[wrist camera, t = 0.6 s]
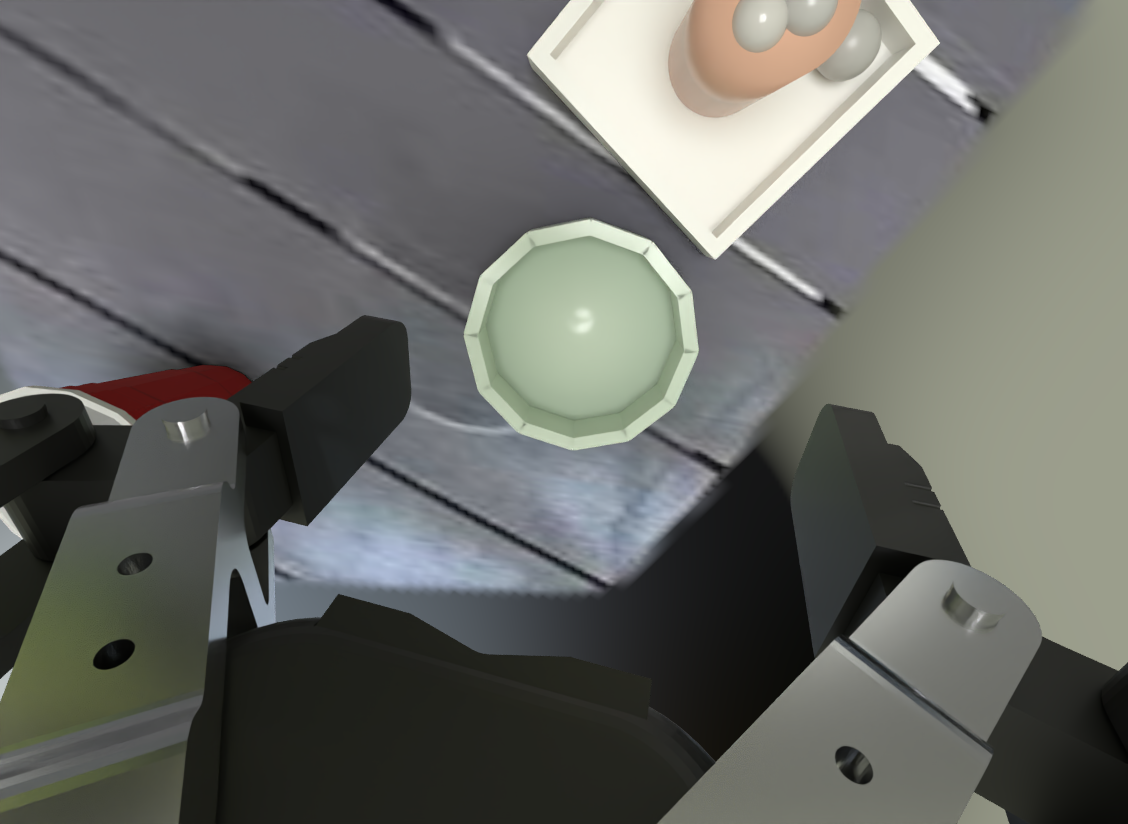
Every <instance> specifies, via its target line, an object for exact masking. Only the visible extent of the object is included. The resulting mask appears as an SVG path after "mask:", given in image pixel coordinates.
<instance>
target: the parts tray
mask: <svg viewBox="0 0 1128 824" xmlns="http://www.w3.org/2000/svg"><path fill="white" fill-rule="evenodd" d="M692 2H693V0H570V2H569V3H568V4H567V5H566V7H565V8H564V9H563V10H562V12H561V13H560V14H559V15H558V17H557V18H556V19H555V20H554V22H553V23H552V24H551V25H550V27H549V28H548V29H547V30H546V31H545V33H544V34H543V35H542V36H541V38H540V39H539V40H538V41H537V43H536V44H535V45H534V46H533V48H532V49H531V50H530V51H529V53H528V54H527V57H528V59H529V62H530V65H531V67H532V69H533V70H534V71H535V72H536V73H537V74H538V75H539V76H540V78H541V79H542V80H543V81H544V82H545V83H546V84H547V85H548V86H549V87H550V88H551V89H552V91H553V92H554V93H555V94H556V95H557V96H558V97H559V98H560V99H561V100H562V101H563V103H564V104H565V105H566V106H567V107H568V108H569V109H570V110H571V111H572V112H573V113H574V114H575V116H576V117H577V118H578V119H579V120H580V121H581V122H582V123H583V124H584V125H585V126H586V127H587V129H588V130H589V131H590V132H591V133H592V134H593V135H594V136H595V137H596V138H597V139H598V140H599V142H600V143H601V144H602V145H603V146H604V147H605V148H606V149H607V150H608V151H609V152H610V153H611V155H612V156H613V157H614V158H615V159H616V160H617V161H618V162H619V163H620V164H621V165H622V166H623V168H624V169H625V170H626V171H627V172H628V173H629V174H630V175H631V176H632V177H633V178H634V180H635V181H636V182H637V183H638V184H639V185H640V186H641V187H642V188H643V189H644V190H645V191H646V193H647V194H648V195H649V196H650V197H651V198H652V199H653V200H654V201H655V202H656V203H657V204H658V206H659V207H660V208H661V209H662V210H663V211H664V212H665V213H666V214H667V215H668V216H669V217H670V219H671V220H672V221H673V222H674V223H675V224H676V225H677V226H678V227H679V228H680V229H681V230H682V232H683V233H684V234H685V235H686V236H687V237H688V238H689V239H690V240H691V241H692V242H693V244H694V245H695V246H696V247H697V248H698V249H699V250H700V251H701V252H702V253H703V254H704V255H705V256H708V257H710V258H712V259H714V260H716V259H717V258H718V257H719V256H720V255H721V254H722V253H723V252H724V251H725V250H726V249H727V248H728V247H729V246H730V245H731V244H732V243H733V242H734V241H735V240H736V239H737V238H738V237H739V236H741V235H742V234H743V233H744V232H745V231H746V230H747V229H748V228H749V227H750V226H751V225H752V224H753V223H754V222H755V221H756V220H757V219H758V218H759V217H760V216H761V215H762V214H763V213H764V212H765V211H766V210H767V209H768V208H770V207H771V206H772V205H773V204H774V203H775V202H776V201H777V200H778V199H779V198H780V197H781V196H782V195H783V194H784V193H785V192H786V191H787V190H788V189H789V188H790V187H791V186H792V185H793V184H794V183H795V182H796V181H798V180H799V179H800V178H801V177H802V176H803V175H804V174H805V173H806V172H807V171H808V170H809V169H810V168H811V167H812V166H813V165H814V164H815V163H816V162H817V161H818V160H819V159H820V158H821V157H822V156H823V155H824V154H826V153H827V152H828V151H829V150H830V149H831V148H832V147H833V146H834V145H835V144H836V143H837V142H838V141H839V140H840V139H841V138H842V137H843V136H844V135H845V134H846V133H847V132H848V131H849V130H850V129H851V128H852V127H853V126H855V125H856V124H857V123H858V122H859V121H860V120H861V119H862V118H863V117H864V116H865V115H866V114H867V113H868V112H869V111H870V110H871V109H872V108H873V107H874V106H875V105H876V104H877V103H878V102H879V101H880V100H881V99H883V98H884V97H885V96H886V95H887V94H888V93H889V92H890V91H891V90H892V89H893V88H894V87H895V86H896V85H897V84H898V83H899V82H900V81H901V80H902V79H903V78H904V77H905V76H906V75H907V74H908V73H909V72H911V71H912V70H913V69H914V68H915V67H916V66H917V65H918V64H919V63H920V62H921V61H922V60H923V59H924V58H925V57H926V56H927V55H928V54H929V53H930V52H931V51H932V50H933V49H934V48H935V47H936V46H937V45H938V44H940V42H939V41H938V40H937V38H936V37H935V35H934V34H933V33H932V31H931V30H930V28H929V27H928V25H927V24H926V23H925V21H924V20H923V18H922V17H921V16H920V14H919V13H918V11H917V10H916V8H915V7H914V6H913V4H912V3H911V1H910V0H861V4H860V8H859V11H858V14H857V17H856V19H855V22H854V24H853V26H852V28H851V30H850V32H849V34H848V35H847V37H846V38H845V40H844V41H843V43H842V44H841V45H840V47H839V48H838V49H837V50H836V52H835V53H834V54H833V55H832V56H831V57H830V58H829V59H828V60H827V61H825V62H824V63H823V64H821V65H820V66H819V67H818V68H816V69H814V70H813V71H811V72H809V73H807V74H806V75H804V76H802V77H800V78H798V79H797V80H795V81H793V82H791V83H789V84H788V85H786V86H784V87H782V88H780V89H779V90H777V91H775V92H773V93H771V94H770V95H768V96H766V97H764V98H762V99H761V100H759V101H757V102H755V103H753V104H751V105H750V106H748V107H746V108H744V109H742V110H741V111H739V112H737V113H734V114H732V115H729V116H726V117H719V118H711V117H705V116H702V115H699V114H697V113H695V112H693V111H691V110H690V109H688V108H687V107H686V106H685V105H684V104H683V103H682V102H681V101H680V100H679V98H678V97H677V95H676V93H675V92H674V89H673V87H672V84H671V81H670V77H669V71H668V57H669V50H670V46H671V42H672V39H673V37H674V35H675V32H676V31H677V29H678V27H679V25H680V23H681V22H682V20H683V18H684V16H685V15H686V13H687V11H688V9H689V7H690V6H691V4H692Z"/></svg>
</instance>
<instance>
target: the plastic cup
mask: <svg viewBox="0 0 1128 824" xmlns="http://www.w3.org/2000/svg"><path fill="white" fill-rule="evenodd" d="M250 383H252V382H251V381H250V380H249V379H248V378H247V377H246V376H245V375H244V374H242V373H240V372H237V371H235V370H233V369H231V368H229V367H225V366H213V365H200V366H195V367H190V368H185V369H180V370H174V369H171V370H165V371H160V372H155V373H150V374H144V375H139V376H134V377H129V378H123V379H118V380H113V381H108V382H103V383H89V384H84V385H80V386H67V387H62V388H52V387H43V386H28V387H22V388H19V389H17V390H14V391H11V392H8V393H5V394H2V395H0V403H1V402H4V401H7V400H11V399H15V398H19V397H24V396H29V395H36V394H49V393H55V394H67V395H71V396H74V397H76V398H79V399H80V400H81V401H82V402H83V404H84V406H85V409H86V411H87V413H88V415H89V418H90V420H91V422H92V424H93V425H133V424H134V423H135V422H136V420H137V419H139V418H140V417H141V416H142V415H144V414H145V413H147V412H148V411H150V410H152V409H154V408H156V407H158V406H161V405H163V404H166V403H169V402H173V401H177V400H181V399H186V398H194V397H215V398H221V399H225V400H227V399H228V398H230V397H231V396H233V395H234V394H236V393H237V392H239V391H240V390H242V389H243V388H244V387H246V386H247V385H249V384H250ZM0 518H1V519H2V520H3V522H4V523H5V524H6V525H7V527H8V528H9V529H10V530H11V531H12V532H13V533H14V534H16V535H17V536H19V537H20V538H22V536H21V535H20V533H19V531H18V530H17V528H16V526H15V525H14V523H13V522H12V520H11V518H10V517H9V515H8V513H7V512H6V510H5V508H4V507H1V508H0ZM22 539H23V538H22Z"/></svg>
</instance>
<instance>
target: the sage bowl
mask: <svg viewBox="0 0 1128 824" xmlns="http://www.w3.org/2000/svg"><path fill="white" fill-rule="evenodd" d="M464 339H465V343H466V347H467V350H468V354H469V358H470V362H471V366H472V370H473V373H474V377H475V381H476V385H477V389H478V391H479V393H480V394H481V395H482V396H483V397H484V398H485V399H486V400H487V401H488V402H489V403H490V404H491V405H492V406H493V407H494V408H495V409H496V411H497V412H498V413H499V414H500V415H501V416H502V417H503V418H504V419H505V420H506V421H507V422H508V423H509V424H510V425H511V426H512V427H513V428H514V429H515V430H516V431H517V432H519V433H520V434H523V435H526V436H529V437H532V438H535V439H538V440H541V441H544V442H547V443H551V444H554V445H557V446H560V447H563V448H566V449H569V450H572V448H573V450H579V449H585V448H591V447H597V446H603V445H609V444H615V443H621V442H627V441H628V440H629V441H630V440H631V439H632V438H634V437H635V436H636V435H638V434H639V433H640V432H642V431H643V430H644V429H646V428H647V427H648V426H649V425H651V424H652V423H653V422H655V421H656V420H657V419H659V418H660V417H661V416H663V415H664V414H665V413H667V412H668V411H669V410H671V409H672V408H673V407H674V405H676V403H677V400H678V398H679V396H680V394H681V391H682V389H683V387H684V385H685V382H686V380H687V378H688V376H689V373H690V371H691V369H692V366H693V364H694V362H695V360H696V357H697V355H698V352H699V349H698V340H697V332H696V323H695V314H694V306H693V297H692V292H691V290H690V288H689V287H688V286H687V285H686V283H685V282H684V281H683V279H682V278H681V277H680V276H679V274H678V273H677V272H676V271H675V269H674V268H673V267H672V265H671V264H670V263H669V262H668V260H667V259H666V258H665V257H664V255H663V254H662V253H661V251H660V250H659V249H658V248H657V246H656V245H655V244H654V242H652V241H651V240H649V239H647V238H646V237H644V236H641V235H638V234H635V233H633V232H630V231H627V230H624V229H622V228H619V227H616V226H614V225H611V224H608V223H605V222H603V221H600V220H597V219H594V218H592V217H591V218H590V217H588V218H583V219H578V220H573V221H568V222H563V223H558V224H554V225H549V226H544V227H539V228H534V229H531V230H530V231H528V232H527V233H525V234H524V235H523V236H522V237H521V238H520V239H519V240H518V241H517V242H516V243H515V244H514V245H513V246H511V247H510V248H509V249H508V250H507V251H506V252H505V253H504V254H503V255H502V256H501V257H500V258H499V259H498V260H496V261H495V262H494V263H493V264H492V265H491V266H490V267H489V268H488V269H487V270H486V271H485V272H484V273H482V274H481V276H480V278H479V281H478V285H477V288H476V292H475V295H474V299H473V302H472V306H471V310H470V313H469V317H468V320H467V324H466V327H465V331H464Z"/></svg>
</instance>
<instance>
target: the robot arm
mask: <svg viewBox="0 0 1128 824" xmlns="http://www.w3.org/2000/svg"><path fill="white" fill-rule="evenodd" d="M410 400H411V381H410V366H409V351H408V337H407V331H406V328H405V326H404V324H403V323H401V322H398V321H393V320H388V319H383V318H377V317H372V316H366V315H364V316H361V317H360V318H358V319H357V320H355V321H354V322H352V323H351V324H350V325H348V326H347V327H345V328H344V329H342V330H341V331H340V332H338V333H337V334H334V335H331V336H328V337H326V338H323V339H320V340H317V341H314V342H311V343H309V344H308V345H306V346H305V347H303V348H302V349H301V350H299V351H298V352H296V353H295V354H293V355H292V358H287V359H286V360H284V361H283V362H281V363H280V364H278V365H277V369H276V368H272V369H271V370H270V371H268V372H267V373H265V374H264V375H262V376H261V377H259V378H258V379H256V380H255V381H253V382H252V383H250V384H249V385H247V386H246V387H244V388H243V389H242V390H240V391H239V392H237V393H236V394H234V395H233V396H231V397H230V398H228V399H227V400H225V399H221V398H215V397H194V398H186V399H181V400H177V401H173V402H169V403H166V404H163V405H161V406H158V407H156V408H154V409H152V410H150V411H148V412H147V413H145V414H144V415H142V416H141V417H140V418H139V419H137V420H136V422H135V423H134V424H133V425H93V424H92V422H91V420H90V418H89V415H88V413H87V411H86V409H85V406H84V404H83V402H82V401H81V400H80V399H79V398H76V397H74V396H71V395H67V394H55V393H49V394H36V395H29V396H24V397H19V398H15V399H11V400H7V401H4V402H1V403H0V508H1V507H4V508H5V510H6V512H7V513H8V515H9V517H10V518H11V520H12V522H13V523H14V525H15V526H16V528H17V530H18V531H19V533H20V535H21V536H22V538H23V539H22V540H21V541H20V542H18V543H17V544H16V545H14V546H13V547H12V548H10V549H9V550H7V551H6V552H5V553H3V554H2V555H1V556H0V679H1V678H2V677H3V676H4V675H5V674H6V673H7V672H8V671H9V670H11V669H12V668H13V670H12V673H11V675H10V678H9V680H8V683H7V686H6V689H5V691H4V694H3V696H2V699H1V701H0V824H957V823H958V821H959V819H960V817H961V815H962V813H963V811H964V809H965V808H966V806H967V804H968V802H969V800H970V798H971V796H972V794H973V793H974V792H975V793H977V794H979V795H980V796H982V797H984V798H986V799H987V800H989V801H991V802H993V803H995V804H996V805H998V806H1000V807H1001V808H1003V809H1005V811H1006V814H1007V817H1008V821H1009V823H1010V824H1128V663H1127V664H1126V665H1125V666H1123V667H1122V668H1121V669H1120V670H1119V671H1117V670H1115V669H1113V668H1111V667H1108V666H1106V665H1104V664H1102V663H1099V662H1097V661H1095V660H1093V659H1090V658H1088V657H1086V656H1083V655H1081V654H1079V653H1077V652H1075V651H1072V650H1070V649H1068V648H1065V647H1063V646H1061V645H1059V644H1057V643H1055V642H1052V641H1050V640H1048V639H1046V638H1044V637H1042V631H1041V628H1040V625H1039V622H1038V621H1037V619H1036V617H1035V615H1034V614H1033V612H1032V611H1031V610H1030V608H1029V607H1028V606H1027V605H1026V604H1025V603H1024V601H1023V600H1022V599H1021V598H1020V597H1018V596H1017V595H1016V594H1015V593H1014V592H1013V591H1012V590H1010V589H1009V588H1007V587H1006V586H1005V585H1004V584H1002V583H1001V582H999V581H997V580H996V579H994V578H992V577H991V576H989V575H987V574H985V573H984V572H982V571H979V570H977V569H975V568H973V567H971V566H970V564H969V562H968V560H967V557H966V555H965V554H964V551H963V549H962V547H961V546H960V543H959V541H958V539H957V537H956V535H955V533H954V531H953V529H952V527H951V525H950V524H949V521H948V519H947V517H946V516H945V513H944V511H943V510H940V506H941V505H940V503H939V501H938V499H937V497H936V495H935V493H934V492H932V491H931V489H932V487H931V485H930V483H929V481H928V479H927V477H926V475H925V473H924V471H923V469H922V467H921V466H920V465H919V464H918V463H917V462H916V461H915V460H914V459H913V458H912V457H911V456H909V454H908V453H906V451H904V450H903V449H902V448H901V447H900V446H898V445H893V444H888V443H887V441H886V439H885V437H884V434H883V432H882V430H881V428H880V425H879V423H878V421H877V418H876V416H875V415H874V413H872V412H869V411H863V410H858V409H853V408H847V407H842V406H837V405H831V404H826V405H825V406H824V407H823V409H822V410H821V412H820V414H819V416H818V418H817V421H816V423H815V426H814V428H813V431H812V433H811V436H810V438H809V441H808V443H807V446H806V448H805V451H804V453H803V456H802V458H801V461H800V463H799V466H798V468H797V471H796V473H795V477H794V481H793V485H792V491H791V509H792V516H793V522H794V528H795V535H796V541H797V548H798V553H799V561H800V567H801V573H802V579H803V586H804V593H805V599H806V605H807V612H808V618H809V625H810V631H811V637H812V644H813V650H814V656H815V658H816V659H815V660H814V661H813V662H812V663H811V664H810V666H808V668H806V669H805V671H804V672H803V673H802V674H801V675H800V676H799V677H798V678H797V679H796V680H795V681H794V682H793V683H792V684H791V685H790V686H789V687H788V688H787V689H786V690H785V691H784V692H783V694H781V696H779V697H778V699H777V700H776V701H775V702H774V703H773V704H772V705H771V706H770V707H769V708H768V709H767V710H766V711H765V712H764V713H763V714H762V715H761V716H760V717H759V719H757V721H756V722H754V723H753V725H752V726H751V727H750V728H749V729H748V730H747V731H746V732H745V733H744V734H743V735H742V736H741V737H740V738H739V739H738V740H737V741H736V742H735V743H734V744H733V745H732V746H731V747H730V748H729V749H728V751H726V753H725V754H724V755H723V756H722V757H721V758H720V759H719V760H718V761H717V762H715V761H714V760H713V759H712V758H711V757H710V756H709V755H708V753H707V752H706V751H705V750H704V749H703V748H702V747H701V746H700V745H699V744H698V743H697V742H696V741H695V740H694V739H693V738H691V737H690V736H689V735H688V734H687V733H686V732H685V731H684V730H683V729H681V728H680V727H679V726H677V725H676V724H675V723H673V722H672V721H670V720H669V719H668V718H666V717H665V716H664V715H662V714H660V713H659V712H657V711H655V710H654V709H652V708H650V707H649V700H650V691H651V682H652V679H649V678H645V677H642V676H638V675H634V674H631V673H627V672H623V671H619V670H616V669H612V668H609V667H605V666H601V665H598V664H593V663H590V662H586V661H583V660H579V659H576V658H572V657H556V656H522V655H521V656H519V655H489V654H482V653H478V652H476V651H474V650H472V649H470V648H469V647H467V646H465V645H463V644H462V643H460V642H458V641H457V640H455V639H453V638H451V637H450V636H448V635H446V634H445V633H443V632H441V631H439V630H438V629H436V628H434V627H433V626H431V625H429V624H427V623H426V622H424V621H422V620H420V619H419V618H417V617H415V616H414V615H412V614H410V613H406V612H403V611H399V610H395V609H391V608H388V607H384V606H381V605H377V604H373V603H370V602H366V601H362V600H358V599H355V598H351V597H347V596H344V595H340V594H338V595H337V597H336V598H335V599H334V601H333V602H332V604H331V605H330V606H329V608H328V609H327V611H326V612H325V613H324V615H323V616H322V617H321V618H319V617H317V618H316V617H315V618H304V619H294V620H288V621H283V622H277V623H276V620H275V576H274V540H273V536H272V532H271V527H272V526H273V525H274V524H275V523H276V522H277V521H278V520H279V519H281V520H285V521H289V522H293V523H297V524H300V525H304V526H308V525H309V524H310V523H311V522H312V521H313V519H314V518H315V517H316V516H317V515H318V514H319V513H320V512H321V511H322V509H323V508H324V507H325V506H326V505H327V504H328V503H329V502H330V500H331V499H332V498H333V497H334V496H335V495H336V494H337V493H338V492H339V490H340V489H341V488H342V487H343V486H344V485H345V484H346V483H347V482H348V480H349V479H350V478H351V477H352V476H353V475H354V474H355V473H356V471H357V470H358V469H359V468H360V467H361V466H362V465H363V464H364V463H365V461H366V460H367V459H368V458H369V457H370V456H371V455H372V454H373V453H374V451H375V450H376V449H377V448H378V447H379V446H380V445H381V444H382V442H383V441H384V440H385V439H386V438H387V437H388V436H389V435H390V434H391V432H392V431H393V430H394V429H395V428H396V427H397V426H398V425H399V424H400V422H401V421H402V420H403V419H404V417H405V415H406V413H407V411H408V408H409V405H410Z"/></svg>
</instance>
